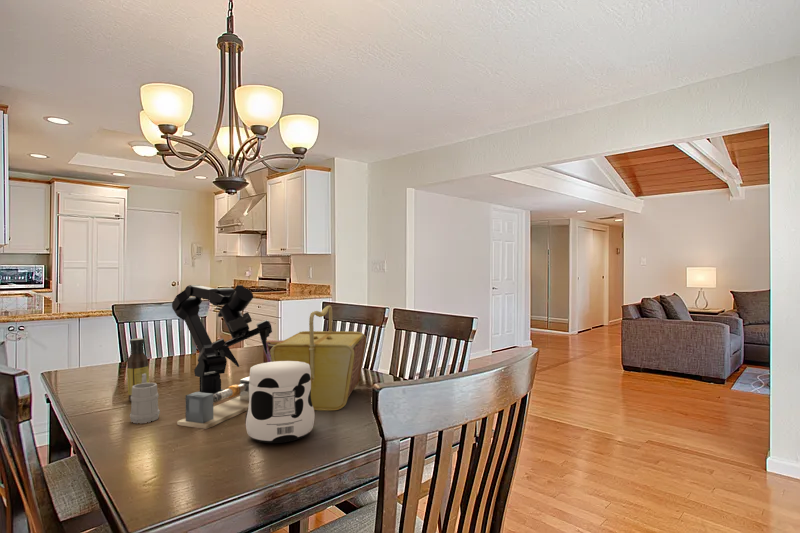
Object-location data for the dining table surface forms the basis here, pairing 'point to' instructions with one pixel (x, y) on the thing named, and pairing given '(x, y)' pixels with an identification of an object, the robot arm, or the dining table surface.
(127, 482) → the dining table surface
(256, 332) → the robot arm
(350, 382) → the picnic basket
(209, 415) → the socket
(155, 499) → the dining table surface
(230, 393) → the tube
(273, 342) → the candy box
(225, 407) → the board
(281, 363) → the milk container
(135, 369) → the sauce bottle
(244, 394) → the sleeve
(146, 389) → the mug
